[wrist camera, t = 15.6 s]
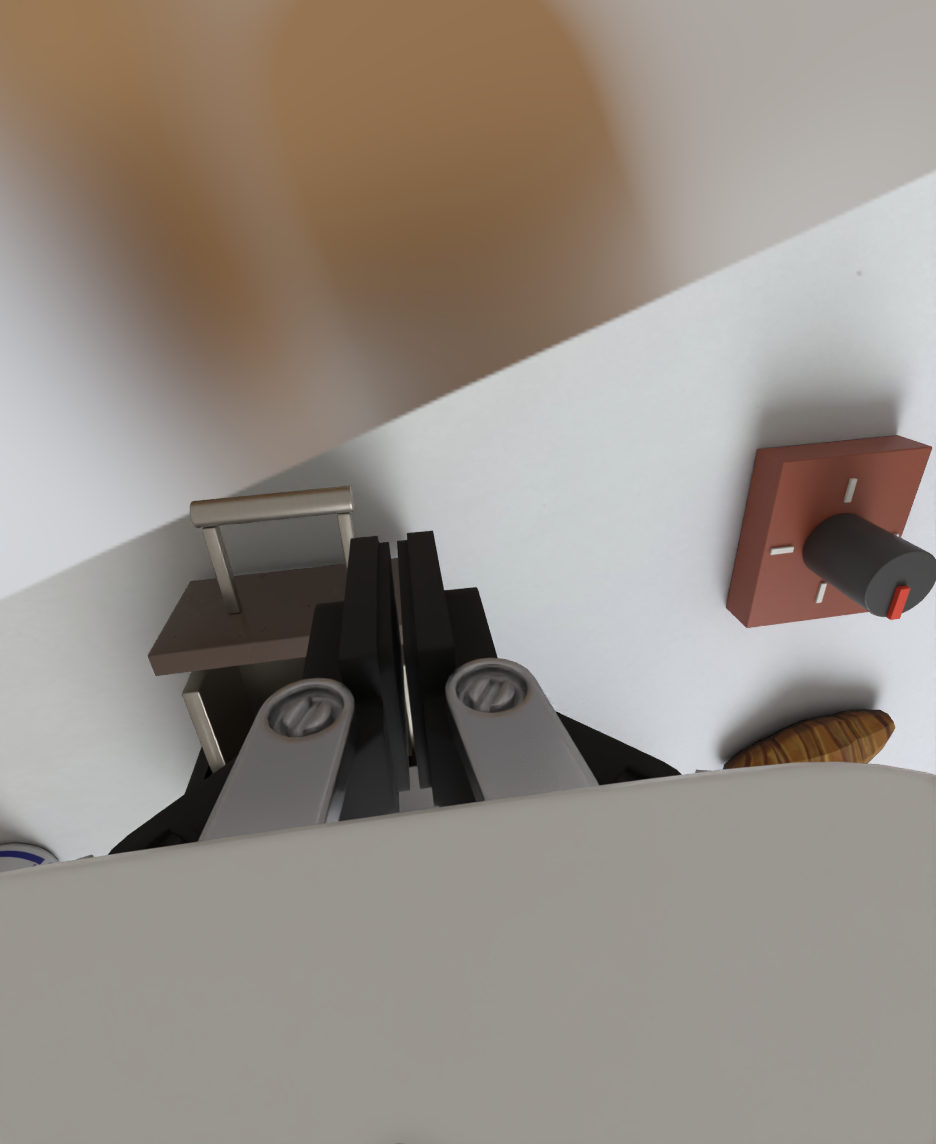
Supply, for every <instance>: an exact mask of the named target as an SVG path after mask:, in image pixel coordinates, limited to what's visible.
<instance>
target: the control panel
mask: <svg viewBox="0 0 936 1144" xmlns="http://www.w3.org/2000/svg"><path fill="white" fill-rule="evenodd" d="M931 450H932V447H931V446H928V445H925V444H922V443H919V442H916V441H913V440H910V439H907V438H904V437H901V436H898V435H896V436H886V437H876V438H866V439H856V440H846V441H836V442H826V443H816V444H806V445H796V446H786V447H776V448H766V449H758V450H757V454H756V459H755V464H754V469H753V474H752V479H751V484H750V489H749V494H748V500H747V505H746V510H745V515H744V520H743V525H742V530H741V535H740V540H739V545H738V550H737V555H736V560H735V565H734V570H733V575H732V581H731V586H730V591H729V596H728V601H727V606H726V608H727V609H728V610H729V611H730V612H731V613H732V614H733V615H734V616H735V617H736V618H737V619H738V620H739V621H740V622H741V623H742V624H743V625H744V626H745V627H746V628H751V627H758V626H766V625H773V624H781V623H788V622H796V621H804V620H811V619H819V618H826V617H834V616H841V615H849V614H856V613H864V612H869V611H867V610H866V609H864V608H863V607H862V606H860V605H859V604H857V603H856V602H855V601H853V600H852V599H850V598H849V597H847V596H846V595H845V594H843V593H842V592H840V591H839V590H838V589H836V588H835V587H833V586H832V585H831V584H829V583H828V582H826V581H825V580H823V579H822V578H821V577H819V576H818V575H816V574H815V573H814V572H812V571H811V570H810V569H808V568H807V566H806V565H805V563H804V559H803V550H804V546H805V543H806V541H807V539H808V537H809V536H810V534H811V533H812V532H813V531H814V529H815V528H816V527H817V526H818V525H820V524H821V523H822V522H824V521H825V520H827V519H828V518H830V517H833V516H835V515H838V514H844V513H851V514H856V515H858V516H860V517H862V518H864V519H866V520H868V521H869V522H871V523H873V524H875V525H877V526H879V527H881V528H883V529H885V530H887V531H889V532H890V533H892V534H894V535H896V536H898V537H900V538H901V536H902V533H903V530H904V527H905V525H906V522H907V519H908V516H909V513H910V510H911V507H912V504H913V502H914V499H915V496H916V493H917V490H918V487H919V484H920V482H921V479H922V476H923V473H924V470H925V467H926V464H927V462H928V459H929V456H930V453H931Z"/></svg>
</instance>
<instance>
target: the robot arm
mask: <svg viewBox="0 0 936 1144" xmlns="http://www.w3.org/2000/svg"><path fill="white" fill-rule="evenodd" d="M397 549H398V566H399V583H400V600H401V617H402V635H403V649H404V660H405V670H406V678H407V686H408V695H409V703H410V711H411V720H412V728H413V736H414V745H415V753H416V761H417V770H418V778H419V786H420V789H424V788H432V794H433V803H434V807H436V806H439V807H438V808H431V809H424V810H417V811H410V812H402V813H395V814H390V813H394V812H400V810H399V792H402V791H410V775H409V757H408V739H407V722H406V704H405V686H404V668H403V655H402V645H401V637H400V629H399V621H398V612H397V604H396V596H395V588H394V579H393V571H392V563H391V555H390V547H389V542H382V543H379V540H378V536H371V537H360V538H351V540H350V549H349V559H348V569H347V579H346V589H345V599H344V601H338V602H328V603H319V604H316V606H315V610H314V615H313V621H312V626H311V632H310V637H309V643H308V649H307V654H306V660H305V665H304V671H303V676H302V680H300V681H297V682H294V683H291V684H289V685H287V686H285V687H283V688H281V689H279V690H278V691H276V692H275V693H274V694H273V695H271V696H270V697H269V698H268V699H267V700H266V701H265V702H264V704H263V705H262V707H261V708H260V710H259V712H258V714H257V716H256V718H255V720H254V722H253V724H252V727H251V729H250V731H249V733H248V735H247V737H246V739H245V742H244V744H243V746H242V748H241V750H240V752H239V754H238V756H237V757H235V758H234V759H233V760H231V761H230V762H229V763H227V764H226V765H224V766H223V767H222V768H220V769H219V770H218V771H216V772H215V773H213V774H212V775H211V776H209V777H208V778H206V779H205V780H204V781H202V782H201V783H200V784H198V785H197V786H195V787H194V788H193V789H191V790H190V791H189V792H187V793H186V794H184V795H183V796H182V797H180V798H179V799H177V800H176V801H175V802H173V803H172V804H171V805H169V806H168V807H166V808H165V809H164V810H162V811H161V812H160V813H158V814H157V815H155V816H154V817H153V818H151V819H150V820H148V821H147V822H146V823H144V824H143V825H142V826H140V827H139V828H137V829H136V830H135V831H133V832H132V833H131V834H129V835H128V836H127V837H126V838H124V839H123V840H122V841H121V842H120V843H119V844H118V845H116V846H115V847H114V848H113V849H112V850H111V852H110V853H109V854H108V855H105V856H98V857H93V855H89V856H86V857H83V858H80V859H76V860H72V861H66V862H59V863H52V864H46V865H39V866H33V867H28V868H22V869H17V870H11V871H5V872H0V1144H936V775H934V774H930V773H926V772H921V771H915V770H909V769H903V768H898V767H892V766H886V765H879V764H865V763H850V762H803V763H786V764H776V765H766V766H755V767H745V768H734V769H724V770H715V771H707V770H696V772H695V773H693V774H685V775H682V774H681V773H680V772H679V771H678V770H676V769H675V768H673V767H671V766H670V765H668V764H666V763H665V762H663V761H661V760H659V759H657V758H655V757H652V756H650V755H648V754H646V753H644V752H642V751H640V750H637V749H635V748H633V747H631V746H629V745H627V744H625V743H622V742H620V741H618V740H616V739H614V738H612V737H610V736H607V735H605V734H603V733H601V732H599V731H597V730H595V729H592V728H590V727H588V726H586V725H584V724H582V723H580V722H577V721H575V720H573V719H571V718H569V717H567V716H565V715H562V714H560V713H558V712H556V711H555V710H554V709H553V707H552V705H551V704H550V702H549V700H548V699H547V697H546V695H545V694H544V692H543V690H542V689H541V687H540V685H539V684H538V682H537V680H536V679H535V677H534V676H533V675H532V674H531V673H530V671H529V670H528V669H527V668H525V667H523V666H522V665H520V664H518V663H516V662H513V661H510V660H506V659H500V658H497V654H496V651H495V647H494V644H493V640H492V637H491V633H490V630H489V626H488V623H487V619H486V616H485V612H484V609H483V605H482V602H481V598H480V595H479V591H478V589H477V587H473V588H464V589H454V590H444V588H443V582H442V577H441V571H440V566H439V561H438V555H437V550H436V545H435V539H434V534H433V531H425V532H414V533H407V540H403V541H397Z"/></svg>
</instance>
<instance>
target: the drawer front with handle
mask: <svg viewBox="0 0 936 1144" xmlns="http://www.w3.org/2000/svg"><path fill="white" fill-rule="evenodd" d="M351 512H354V499H353V492H352V488H351V486H342V487H331V488H321V489H311V490H301V491H291V492H281V493H271V494H261V495H251V496H241V497H230V498H220V499H210V500H201V501H193V502H191V505H190V516H191V520H192V523H193V525H194V526H195V527H196V528H202V527H203V529H202V531H203V534H204V537H205V541H206V544H207V547H208V550H209V554H210V557H211V560H212V563H213V567H214V570H215V573H216V576H217V578H215V579H206V580H197V581H191V582H190V583H189V585H188V586H187V588H186V590H185V592H184V593H183V595H182V597H181V599H180V600H179V602H178V604H177V605H176V607H175V609H174V611H173V612H172V614H171V616H170V618H169V619H168V621H167V623H166V624H165V626H164V628H163V630H162V631H161V633H160V635H159V637H158V638H157V640H156V642H155V644H154V645H153V647H152V649H151V650H150V652H149V654H148V658H149V661H150V663H151V665H152V668H153V670H154V673H155V675H156V676H160V675H168V674H175V673H183V672H191V671H192V672H191V675H190V677H189V679H188V681H187V684H186V686H185V688H184V690H183V693H182V696H183V698H184V701H185V703H186V706H187V709H188V711H189V714H190V716H191V719H192V722H193V724H194V727H195V729H196V732H197V735H198V737H199V740H200V742H201V745H202V748H203V750H204V753H205V755H206V758H207V761H208V763H209V766H210V768H211V771H212V774H213V773H215V772H216V771H218V770H219V769H220V768H222V767H223V766H224V765H226V764H227V763H229V762H230V761H231V760H233V759H234V758H235V757H237V756H238V754H239V752H240V750H241V748H242V746H243V744H244V742H245V739H246V737H247V735H248V733H249V731H250V729H251V727H252V724H253V722H254V720H255V718H256V716H257V714H258V712H259V710H260V708H261V707H262V705H263V704H264V702H265V701H266V700H267V699H268V698H269V697H270V696H271V695H273V694H274V693H275V692H276V691H278V690H279V689H281V688H283V687H285V686H287V685H289V684H291V683H294V682H297V681H300V680H302V676H303V671H304V665H305V660H306V654H307V649H308V643H309V637H310V632H311V626H312V621H313V615H314V610H315V606H316V604H319V603H328V602H338V601H344V599H345V589H346V579H347V569H348V559H349V549H350V540H351V538H355V535H354V529H353V523H352V517H351ZM328 514H337V519H338V524H339V530H340V536H341V541H342V547H343V552H344V558H345V564H339V565H331V566H322V567H313V568H304V569H295V570H286V571H277V572H268V573H259V574H250V575H242V576H233V573H232V570H231V566H230V563H229V559H228V556H227V552H226V549H225V546H224V542H223V539H222V535H221V532H220V528H219V526H221V525H231V524H241V523H250V522H260V521H270V520H279V519H289V518H299V517H308V516H318V515H328ZM391 563H392V571H393V579H394V588H395V596H396V604H397V612H398V621H399V629H400V637H401V645H402V655H403V668H404V686H405V704H406V722H407V739H408V756H411V755H416V753H415V745H414V736H413V728H412V720H411V711H410V703H409V695H408V686H407V678H406V670H405V660H404V649H403V635H402V617H401V600H400V583H399V566H398V558H393V559H391Z"/></svg>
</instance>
